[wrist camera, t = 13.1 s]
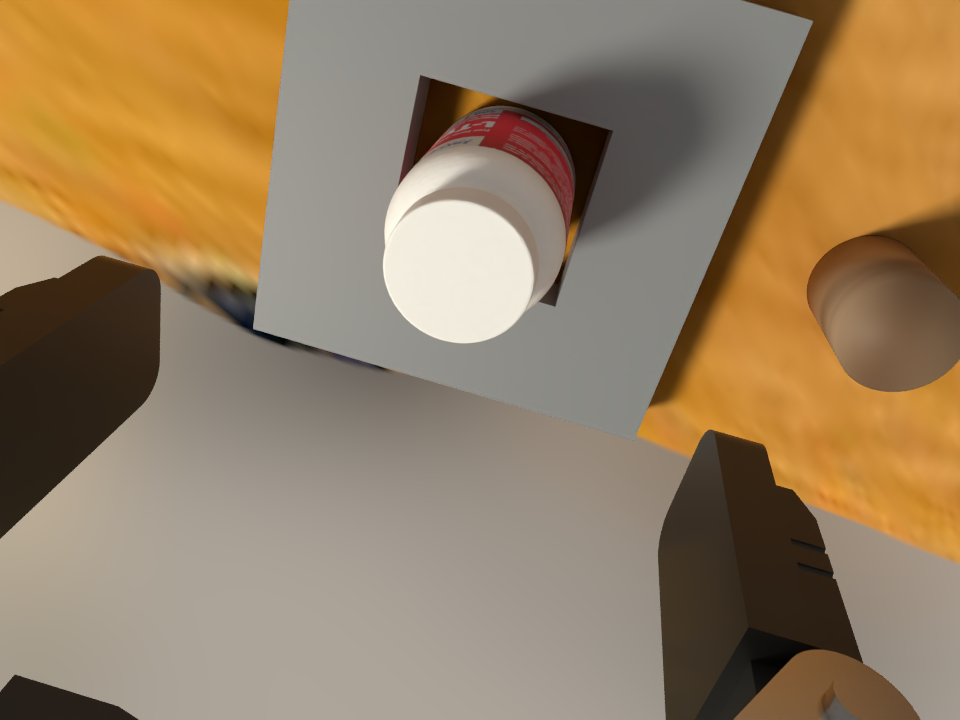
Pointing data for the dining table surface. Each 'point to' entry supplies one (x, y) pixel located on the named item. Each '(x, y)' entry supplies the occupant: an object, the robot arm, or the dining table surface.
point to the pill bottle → (480, 225)
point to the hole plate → (609, 206)
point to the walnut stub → (885, 314)
